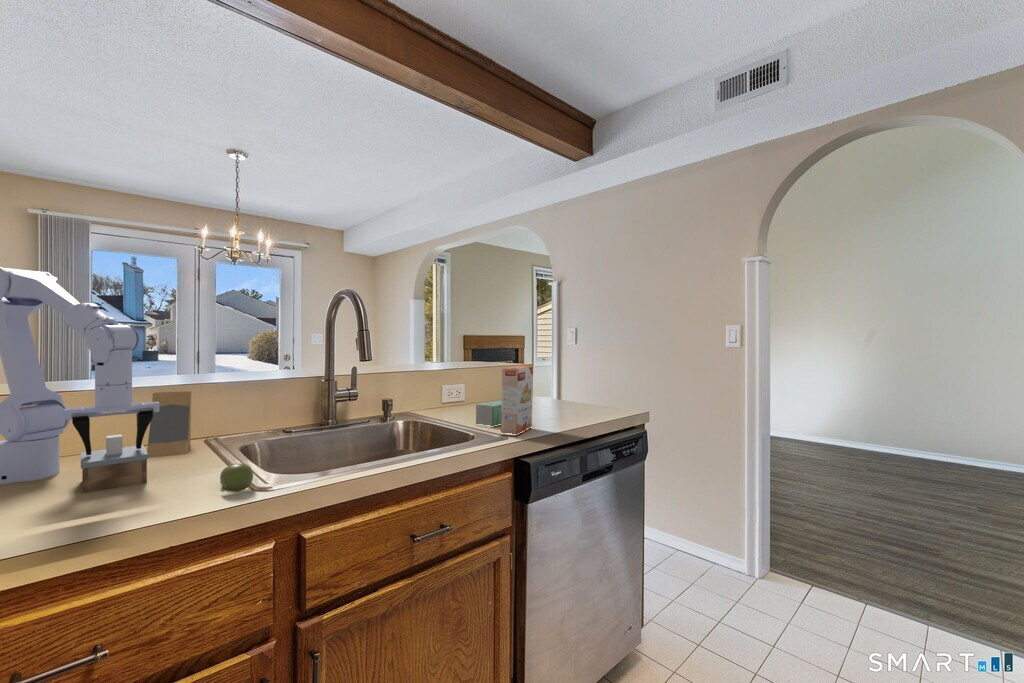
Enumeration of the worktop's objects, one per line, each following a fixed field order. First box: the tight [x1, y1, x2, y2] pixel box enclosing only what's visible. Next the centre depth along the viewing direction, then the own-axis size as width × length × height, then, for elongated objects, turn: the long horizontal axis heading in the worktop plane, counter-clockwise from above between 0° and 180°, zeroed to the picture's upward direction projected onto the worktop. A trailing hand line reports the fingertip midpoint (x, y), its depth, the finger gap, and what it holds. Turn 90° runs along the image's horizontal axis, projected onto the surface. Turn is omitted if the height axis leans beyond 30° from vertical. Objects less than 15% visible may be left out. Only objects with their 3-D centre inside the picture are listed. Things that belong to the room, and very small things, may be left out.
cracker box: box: [500, 365, 534, 434], centre depth 150 cm, size 14×6×21 cm, turn 158°
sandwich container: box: [146, 390, 192, 459], centre depth 120 cm, size 9×15×15 cm, turn 32°
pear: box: [219, 463, 254, 493], centre depth 95 cm, size 6×5×10 cm
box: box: [475, 400, 502, 426], centre depth 163 cm, size 7×14×8 cm, turn 146°
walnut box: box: [81, 459, 148, 494], centre depth 95 cm, size 10×10×6 cm
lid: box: [80, 434, 149, 470], centre depth 95 cm, size 10×10×4 cm
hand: (114, 450), depth 95 cm, fingers open, 7 cm apart
